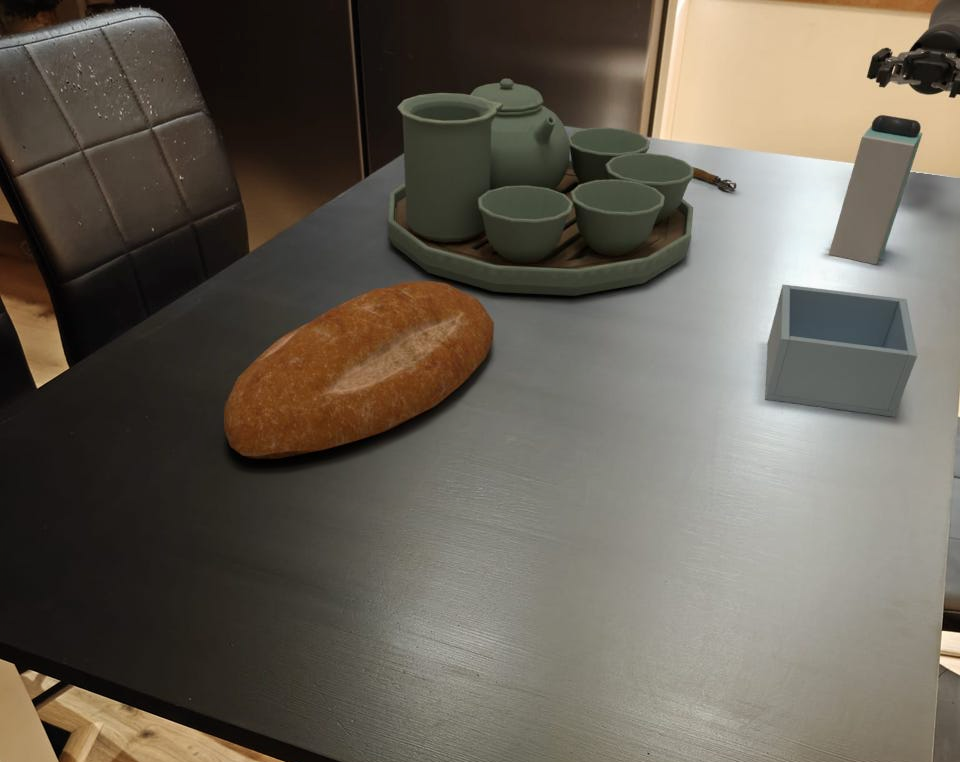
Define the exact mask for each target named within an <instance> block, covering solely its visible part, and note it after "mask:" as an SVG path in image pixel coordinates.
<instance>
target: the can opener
mask: <svg viewBox="0 0 960 762" xmlns="http://www.w3.org/2000/svg"><path fill="white" fill-rule="evenodd" d="M692 167H693V168H694V174H693V177H695V178H698V179H700V180H704V181H708V182H710V183H713V184H717V185H718V187H720V188H721V189H723V190H728V191H736V190H737V183H736V182H732V180H730V179H721V177H719V176H718V175H715V174H712V173H710V172H708V171H706V170H703V169H700V168H698V167H695V166H692ZM732 185H733V186H732Z"/></svg>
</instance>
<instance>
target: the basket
mask: <svg viewBox="0 0 960 762" xmlns="http://www.w3.org/2000/svg"><path fill="white" fill-rule="evenodd" d="M775 308H776V309H775V313H774V316H773V321H772V325H771V329H770V332H769V336H768V339H767V349H766V350H767V351H766V353H767V354H766V372H765V393H764V394H765V395H764V399H765V400H769V401H775V402H781V403H789V404H790V403H791V404H798V405H804V406H805V405H806V406H811V407H818V408H819V407H820V408H827V409H833V410H841V411H846V412H847V411H848V412H856V413H862V414H868V415H869V414H870V415H878V416H883V417H884V416H885V417H891V418H895V416H896V414H897V410H898V408H899V405H900V402H901V400H902V397H903V395H904V392H905V389H906V387H907V384H908V381H909V379H910V376H911V373H912V371H913V368H914V366H915V363H916V361H917V357H918V353H917V348H916V347H917V346H916V343H915V338H914V337H915V336H914V332H913V331H914V330H913V327H912V322H911V316H910V315H911V314H910V311H909V305H908V299H907V298H902V297H899V298H898V297H893V296H892V297H891V296H884V295H875V294H867V293H858V292H850V291H842V290H834V289H825V288H817V287H809V286H801V285H792V284H791V285H790V284H782V285H781V289H780V293H779V296H778V301H777V304H776V307H775Z"/></svg>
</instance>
